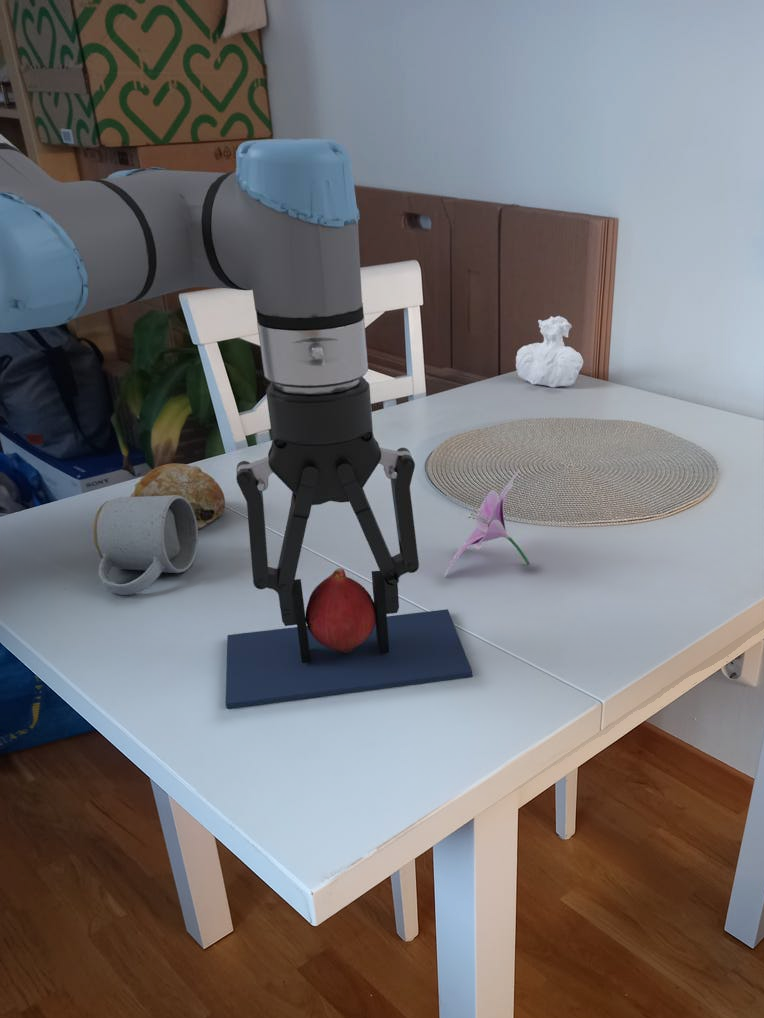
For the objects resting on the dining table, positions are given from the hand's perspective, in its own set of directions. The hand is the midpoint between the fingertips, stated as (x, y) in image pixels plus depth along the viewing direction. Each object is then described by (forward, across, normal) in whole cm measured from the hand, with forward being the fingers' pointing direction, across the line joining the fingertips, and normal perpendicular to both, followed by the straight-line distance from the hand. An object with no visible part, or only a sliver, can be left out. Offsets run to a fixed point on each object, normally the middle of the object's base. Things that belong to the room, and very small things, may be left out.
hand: (344, 649), depth 79 cm
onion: (0, 0, 0) cm, 0 cm away
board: (+1, 0, 0) cm, 1 cm away
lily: (+1, +16, +15) cm, 22 cm away
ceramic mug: (+1, -18, +21) cm, 28 cm away
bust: (+1, +41, +78) cm, 88 cm away
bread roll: (+1, -16, +35) cm, 38 cm away
